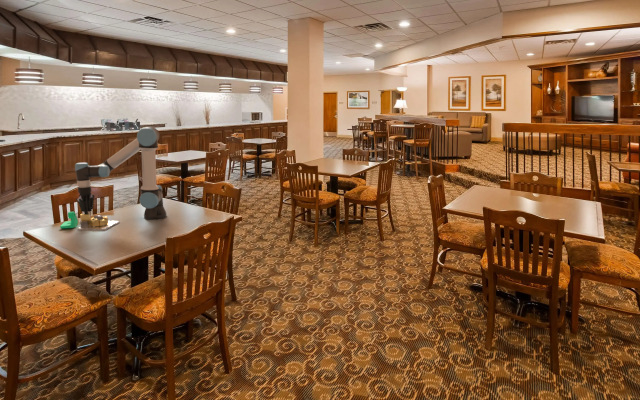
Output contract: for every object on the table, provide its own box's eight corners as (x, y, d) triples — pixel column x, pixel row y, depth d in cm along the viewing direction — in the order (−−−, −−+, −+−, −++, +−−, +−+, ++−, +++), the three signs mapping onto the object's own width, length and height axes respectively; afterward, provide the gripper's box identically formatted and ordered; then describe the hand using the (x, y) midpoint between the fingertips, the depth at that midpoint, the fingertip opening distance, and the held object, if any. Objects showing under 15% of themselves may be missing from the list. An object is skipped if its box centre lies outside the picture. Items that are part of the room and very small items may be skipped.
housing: (119, 222, 276) (118, 212, 274) (105, 230, 258) (103, 219, 257) (92, 222, 276) (91, 212, 275) (76, 229, 259) (74, 219, 257)
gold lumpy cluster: (110, 221, 273) (109, 211, 271) (105, 225, 263) (103, 215, 261) (84, 222, 270) (83, 212, 268) (78, 226, 260) (77, 216, 258)
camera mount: (65, 225, 270) (63, 210, 267) (78, 224, 272) (76, 209, 270) (60, 230, 258) (58, 214, 256) (73, 229, 261) (71, 213, 258)
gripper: (87, 184, 270) (91, 218, 276) (71, 188, 258) (76, 223, 263) (96, 184, 269) (100, 218, 274) (81, 188, 256) (85, 224, 262)
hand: (88, 220), depth 269 cm, fingers closed
